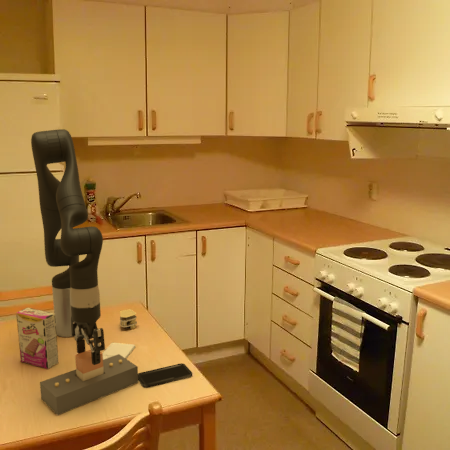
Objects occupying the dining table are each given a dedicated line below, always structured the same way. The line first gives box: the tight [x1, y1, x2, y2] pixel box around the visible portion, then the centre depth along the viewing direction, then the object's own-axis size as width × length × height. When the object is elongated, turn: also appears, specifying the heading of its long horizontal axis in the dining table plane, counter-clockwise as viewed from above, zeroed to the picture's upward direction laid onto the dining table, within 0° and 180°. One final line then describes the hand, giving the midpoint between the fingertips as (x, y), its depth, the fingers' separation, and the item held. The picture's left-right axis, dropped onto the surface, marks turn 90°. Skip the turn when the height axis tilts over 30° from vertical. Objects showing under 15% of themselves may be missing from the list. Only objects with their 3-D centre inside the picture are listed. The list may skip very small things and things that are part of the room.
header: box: [39, 354, 139, 416], centre depth 142 cm, size 10×24×6 cm, turn 132°
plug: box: [74, 349, 104, 381], centre depth 141 cm, size 4×6×11 cm, turn 132°
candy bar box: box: [15, 307, 59, 370], centre depth 156 cm, size 11×5×16 cm, turn 65°
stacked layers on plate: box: [119, 308, 138, 330], centre depth 184 cm, size 10×9×6 cm
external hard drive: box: [102, 342, 136, 360], centre depth 163 cm, size 2×8×12 cm
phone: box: [138, 362, 193, 389], centre depth 150 cm, size 8×1×15 cm
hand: (88, 358), depth 140 cm, fingers open, 8 cm apart
